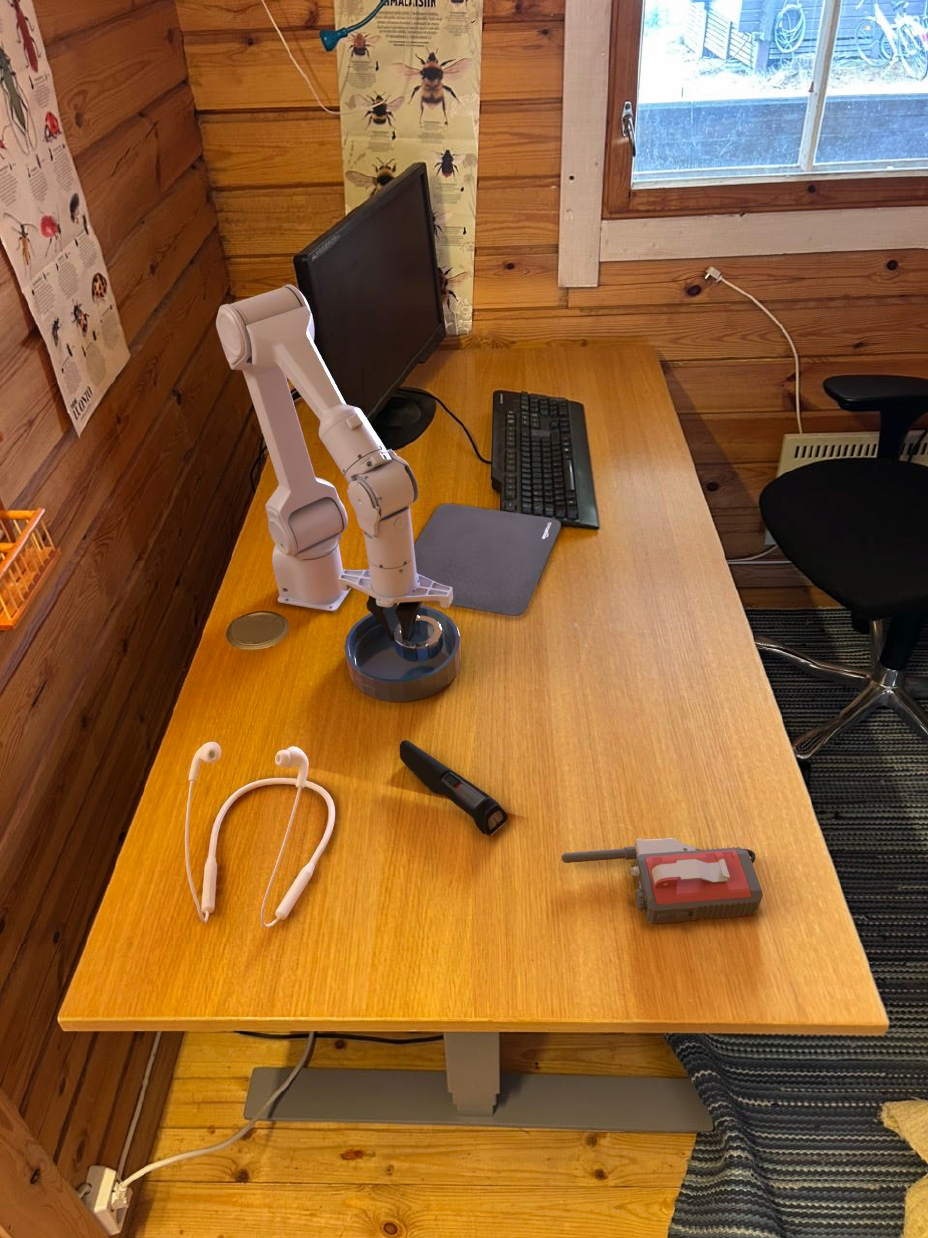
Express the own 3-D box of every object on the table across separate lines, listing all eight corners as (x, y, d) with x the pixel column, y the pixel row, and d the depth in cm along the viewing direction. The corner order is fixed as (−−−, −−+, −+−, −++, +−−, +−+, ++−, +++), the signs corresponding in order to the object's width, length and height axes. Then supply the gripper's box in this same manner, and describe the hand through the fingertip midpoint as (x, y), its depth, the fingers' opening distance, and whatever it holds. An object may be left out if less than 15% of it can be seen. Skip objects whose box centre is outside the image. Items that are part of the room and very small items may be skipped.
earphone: (158, 926, 84) (176, 740, 87) (223, 897, 100) (237, 741, 103) (293, 937, 82) (308, 747, 85) (336, 906, 99) (348, 748, 101)
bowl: (330, 692, 112) (325, 670, 110) (374, 617, 123) (370, 596, 121) (440, 714, 109) (438, 692, 106) (475, 635, 119) (474, 614, 117)
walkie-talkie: (745, 842, 92) (559, 856, 92) (752, 817, 90) (560, 832, 89) (771, 917, 86) (572, 933, 86) (780, 893, 83) (573, 909, 83)
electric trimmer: (416, 747, 105) (414, 730, 103) (510, 819, 96) (509, 801, 94) (393, 765, 103) (390, 748, 101) (486, 840, 94) (485, 822, 92)
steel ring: (388, 657, 111) (386, 642, 110) (405, 626, 116) (403, 612, 114) (433, 666, 110) (432, 651, 108) (449, 634, 114) (447, 619, 113)
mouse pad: (522, 619, 121) (522, 617, 121) (384, 594, 127) (384, 593, 127) (563, 520, 139) (563, 519, 139) (440, 503, 144) (440, 501, 144)
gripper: (322, 564, 103) (338, 647, 112) (436, 583, 99) (444, 667, 108) (345, 531, 108) (359, 613, 117) (455, 548, 104) (461, 631, 113)
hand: (401, 637), depth 113 cm, fingers closed on steel ring
